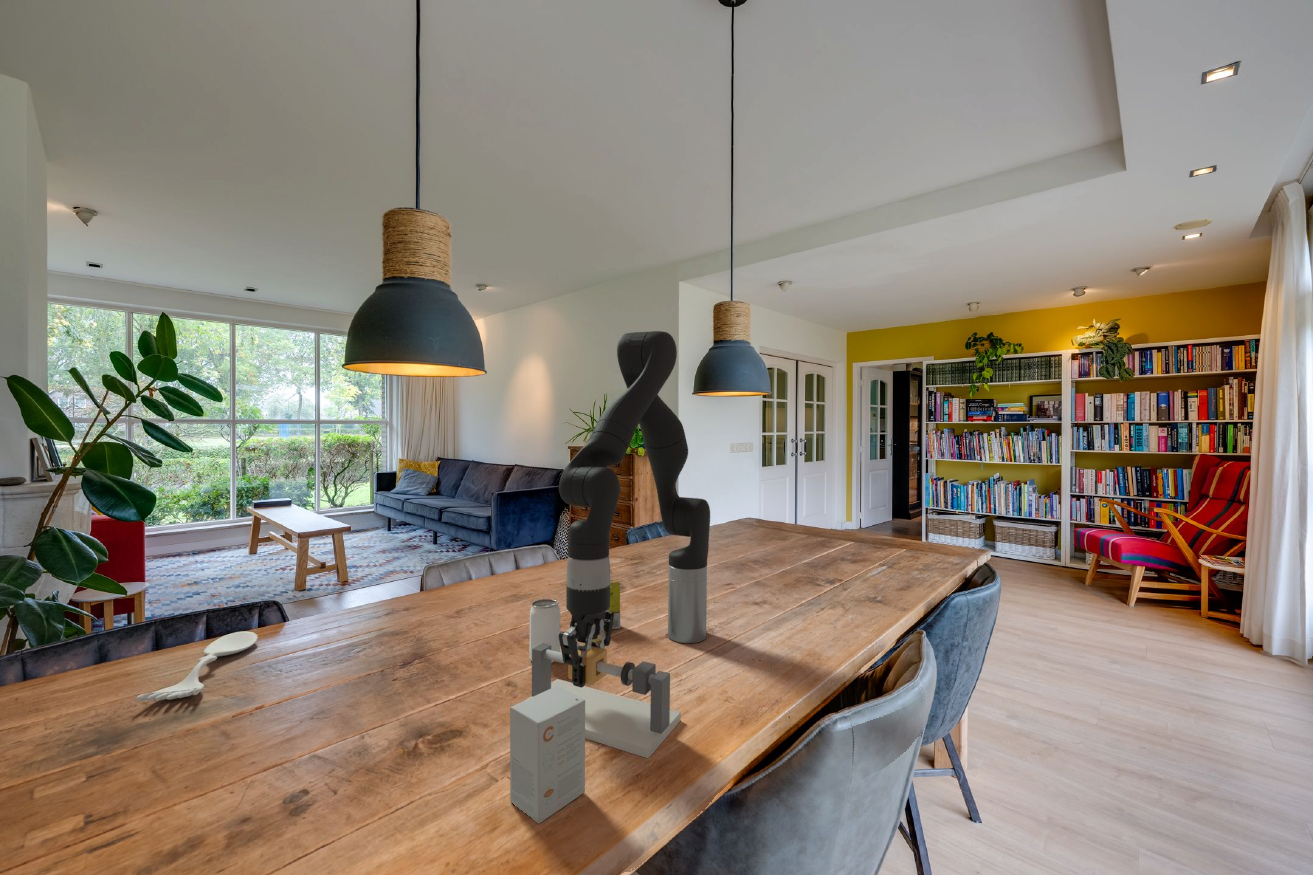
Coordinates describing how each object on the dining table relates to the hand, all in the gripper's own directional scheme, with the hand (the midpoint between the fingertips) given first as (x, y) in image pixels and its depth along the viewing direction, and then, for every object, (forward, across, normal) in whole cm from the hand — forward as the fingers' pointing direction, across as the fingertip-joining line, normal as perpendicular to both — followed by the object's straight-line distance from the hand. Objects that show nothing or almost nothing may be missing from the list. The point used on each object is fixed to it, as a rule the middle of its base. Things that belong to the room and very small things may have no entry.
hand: (587, 679), depth 95 cm
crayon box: (+7, +36, +19) cm, 41 cm away
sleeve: (-1, 0, 0) cm, 1 cm away
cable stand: (+6, 0, -2) cm, 7 cm away
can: (+7, +15, +21) cm, 27 cm away
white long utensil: (+7, -22, +76) cm, 80 cm away
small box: (+7, -20, -7) cm, 22 cm away
